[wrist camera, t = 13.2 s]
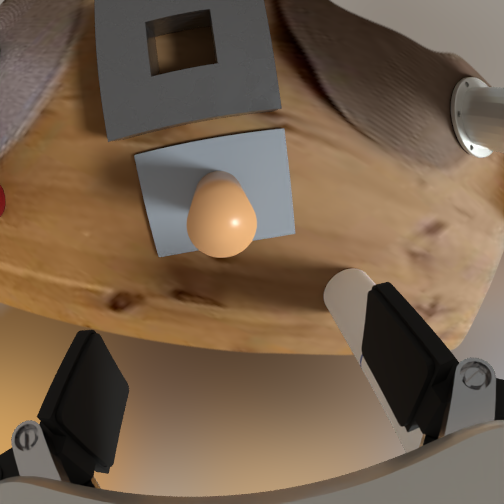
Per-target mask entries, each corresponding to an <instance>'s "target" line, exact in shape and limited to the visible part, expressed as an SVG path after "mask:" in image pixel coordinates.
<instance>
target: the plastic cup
mask: <svg viewBox="0 0 504 504" xmlns="http://www.w3.org/2000/svg"><path fill="white" fill-rule="evenodd" d="M4 208H5V195H4V191H3V188H2V187H1V185H0V217H1V215H2V214H3V212H4Z"/></svg>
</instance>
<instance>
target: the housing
mask: <svg viewBox="0 0 504 504" xmlns="http://www.w3.org/2000/svg"><path fill="white" fill-rule="evenodd" d="M206 26H211V32H212V39H213V46H214V53H215V59H216V64H210V65H204V66H198V67H193V68H188V69H183V70H178V71H173V72H169V73H164V74H160V73H159V65H158V57H157V49H156V40H155V37H156V36H160V35H165V34H169V33H174V32H178V31H183V30H189V29H194V28H200V27H206ZM95 36H96V52H97V64H98V75H99V84H100V92H101V100H102V107H103V114H104V120H105V126H106V132H107V138H108V142H110V141H117V140H124V139H127V138H131V137H135V136H138V135H142V134H146V133H150V132H154V131H158V130H163V129H167V128H172V127H176V126H181V125H186V124H191V123H196V122H201V121H207V120H213V119H219V118H225V117H232V116H239V115H246V114H254V113H263V112H272V111H275V110H278V109H281V101H280V94H279V87H278V80H277V73H276V67H275V61H274V55H273V48H272V42H271V37H270V31H269V25H268V20H267V14H266V9H265V4H264V0H95Z"/></svg>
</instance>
